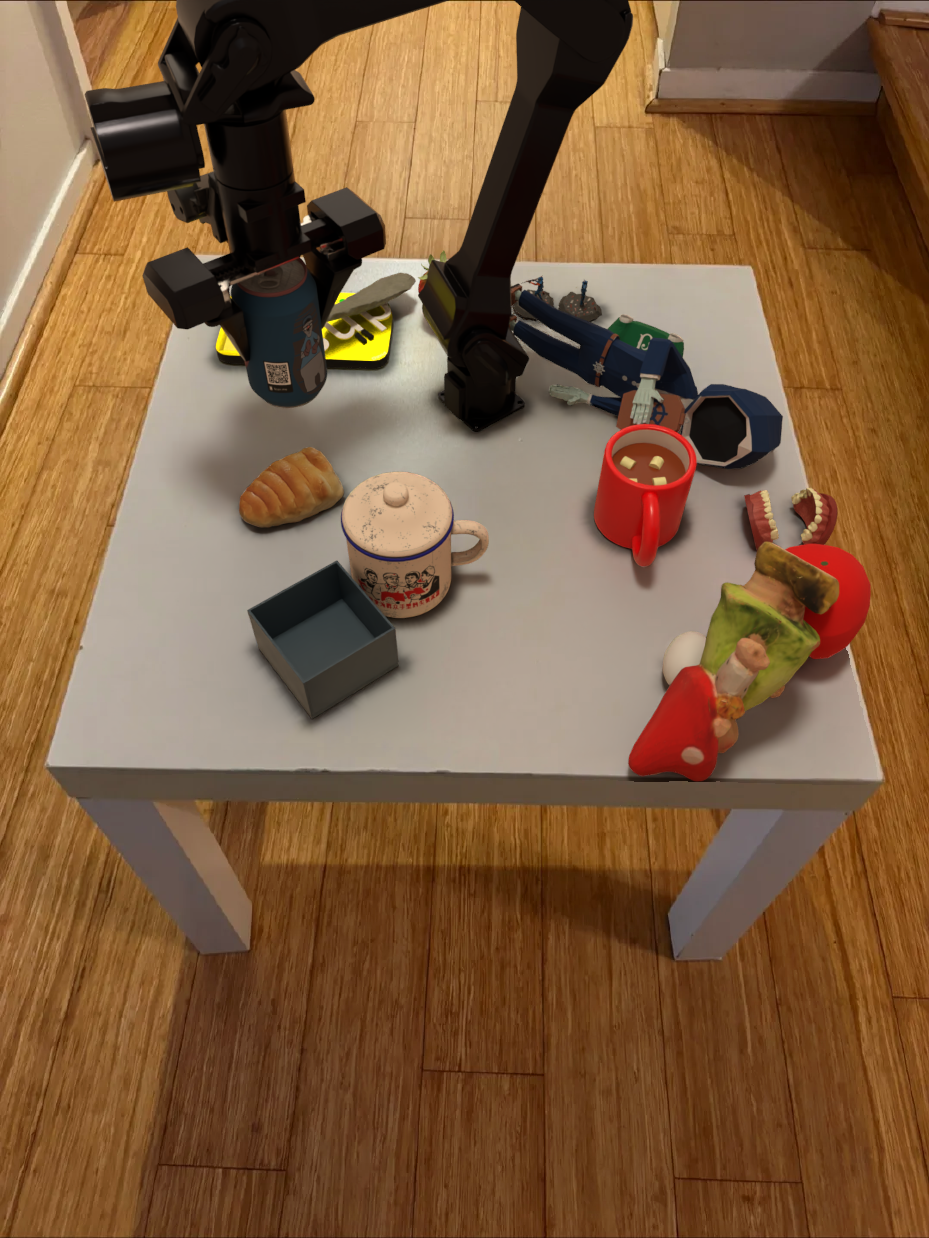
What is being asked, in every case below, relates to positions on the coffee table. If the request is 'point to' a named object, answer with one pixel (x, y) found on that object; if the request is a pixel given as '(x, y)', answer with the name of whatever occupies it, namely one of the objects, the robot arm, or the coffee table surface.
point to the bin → (324, 638)
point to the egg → (683, 654)
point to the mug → (644, 488)
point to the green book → (642, 333)
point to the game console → (342, 340)
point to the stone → (373, 296)
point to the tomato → (852, 600)
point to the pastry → (291, 490)
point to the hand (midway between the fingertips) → (282, 342)
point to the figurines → (565, 302)
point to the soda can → (283, 334)
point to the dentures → (807, 503)
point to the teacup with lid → (404, 542)
